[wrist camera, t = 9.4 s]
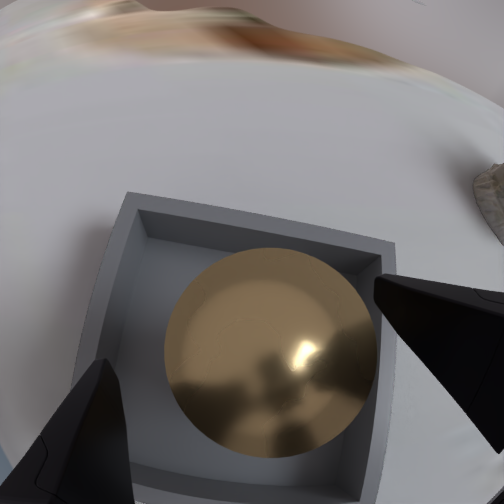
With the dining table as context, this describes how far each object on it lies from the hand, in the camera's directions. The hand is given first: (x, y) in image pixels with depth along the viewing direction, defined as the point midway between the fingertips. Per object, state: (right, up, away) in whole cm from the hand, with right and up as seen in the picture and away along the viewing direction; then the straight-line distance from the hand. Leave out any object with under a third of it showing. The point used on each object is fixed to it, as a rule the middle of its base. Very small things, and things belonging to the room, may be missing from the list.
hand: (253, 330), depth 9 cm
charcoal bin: (-1, -5, +9) cm, 10 cm away
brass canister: (-1, -4, +8) cm, 9 cm away
